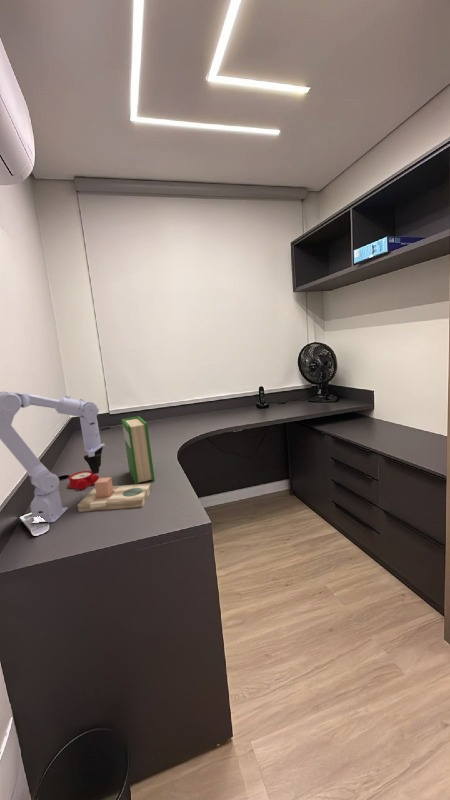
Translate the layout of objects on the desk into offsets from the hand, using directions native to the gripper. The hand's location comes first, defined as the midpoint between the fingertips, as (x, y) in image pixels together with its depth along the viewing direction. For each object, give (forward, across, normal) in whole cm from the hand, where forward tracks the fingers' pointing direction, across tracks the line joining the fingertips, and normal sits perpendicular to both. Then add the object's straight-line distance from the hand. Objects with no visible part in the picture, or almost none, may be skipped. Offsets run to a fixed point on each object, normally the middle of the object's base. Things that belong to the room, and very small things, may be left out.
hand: (96, 469), depth 127 cm
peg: (+10, -6, -2) cm, 12 cm away
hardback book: (+10, +14, -15) cm, 23 cm away
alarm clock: (+11, +16, +8) cm, 21 cm away
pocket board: (+10, -7, -6) cm, 14 cm away
